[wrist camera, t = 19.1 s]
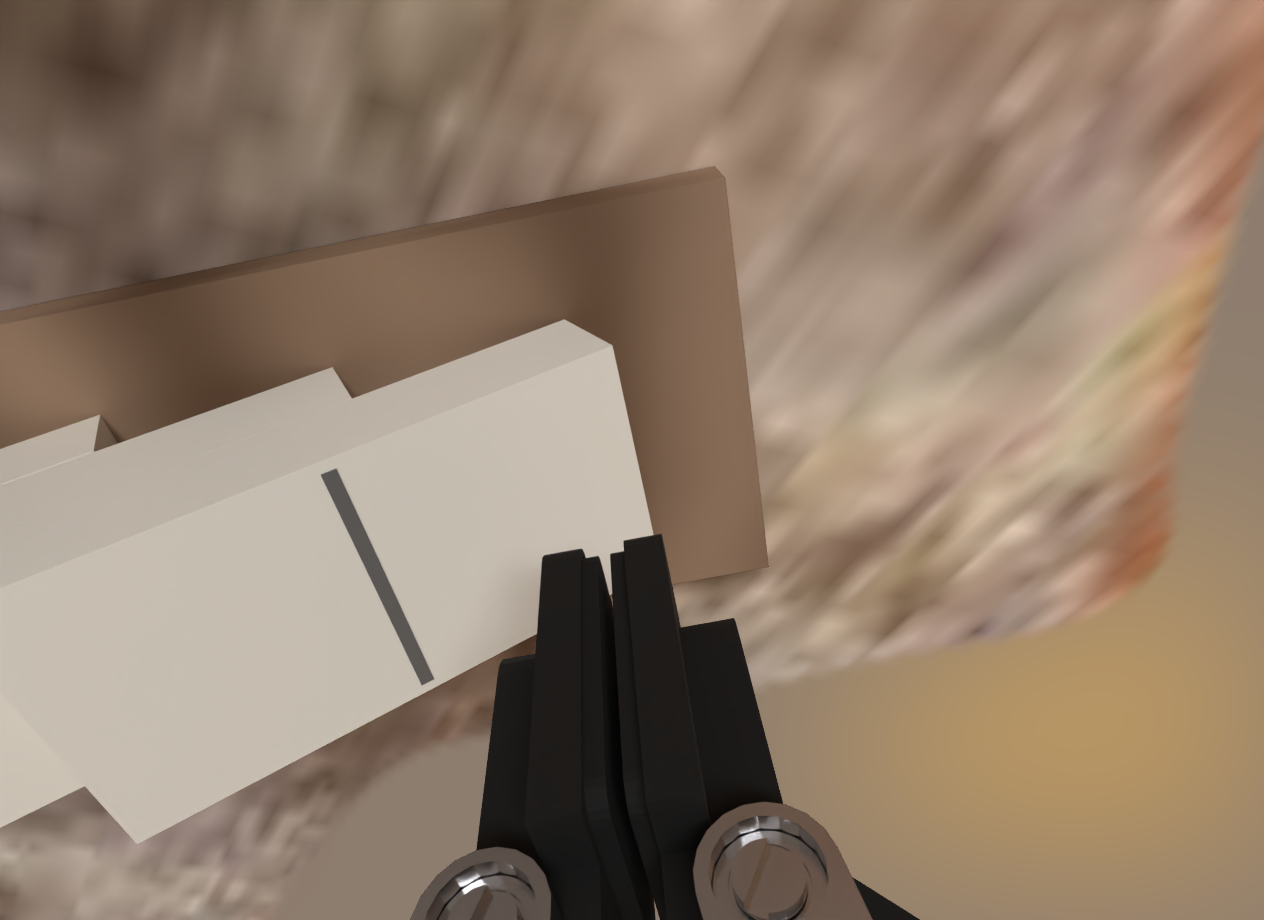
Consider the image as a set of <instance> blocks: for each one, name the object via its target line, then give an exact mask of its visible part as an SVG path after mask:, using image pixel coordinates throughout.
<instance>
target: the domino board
mask: <svg viewBox="0 0 1264 920" xmlns="http://www.w3.org/2000/svg"><path fill="white" fill-rule="evenodd" d="M564 319H565V320H567V321H568V322H570V323H572V324H574V325H576V326H578V327H579V328H581V329H583V330H585V331H587V332H589V333H591V334H592V335H594V336H596V337H598V338H600V339H602V340H603V341H605V342H607V343H609V344H611V345H612V346H613V350H614V355H615V359H616V364H617V369H618V373H619V378H620V382H621V387H622V392H623V396H624V401H625V405H626V410H627V415H628V419H629V424H630V428H631V433H632V438H633V442H634V447H635V451H636V456H637V461H638V465H639V470H640V474H641V479H642V484H643V488H644V493H645V497H646V502H647V507H648V511H649V516H650V520H651V525H652V530H653V534H654V535H657V534H662V537H663V542H664V547H665V552H666V557H667V562H668V567H669V572H670V577H671V582H672V584H678V583H683V582H689V581H694V580H700V579H705V578H711V577H716V576H722V575H727V574H733V573H738V572H744V571H749V570H755V569H760V568H766V567H769V565H768V556H767V547H766V538H765V529H764V520H763V511H762V503H761V494H760V485H759V476H758V467H757V458H756V449H755V440H754V431H753V422H752V413H751V404H750V395H749V386H748V377H747V368H746V359H745V350H744V341H743V332H742V323H741V314H740V306H739V297H738V288H737V279H736V270H735V261H734V252H733V243H732V234H731V225H730V216H729V207H728V198H727V189H726V180H725V177H724V176H723V175H722V174H721V173H720V171H719V170H718V169H717V168H716V167H715V166H713V167H708V168H703V169H698V170H694V171H689V172H684V173H679V174H674V175H669V176H664V177H659V178H654V179H649V180H644V181H640V182H635V183H630V184H625V185H620V186H615V187H610V188H605V189H600V190H595V191H590V192H585V193H581V194H576V195H571V196H566V197H561V198H556V199H551V200H546V201H541V202H536V203H531V204H527V205H522V206H517V207H512V208H507V209H502V210H497V211H492V212H487V213H482V214H477V215H473V216H468V217H463V218H458V219H453V220H448V221H443V222H438V223H433V224H428V225H423V226H418V227H414V228H409V229H404V230H399V231H394V232H389V233H384V234H379V235H374V236H369V237H364V238H360V239H355V240H350V241H345V242H340V243H335V244H330V245H325V246H320V247H315V248H310V249H306V250H301V251H296V252H291V253H286V254H281V255H276V256H271V257H266V258H261V259H256V260H251V261H247V262H242V263H237V264H232V265H227V266H222V267H217V268H212V269H207V270H202V271H197V272H193V273H188V274H183V275H178V276H173V277H168V278H163V279H158V280H153V281H148V282H143V283H138V284H134V285H129V286H124V287H119V288H114V289H109V290H104V291H99V292H94V293H89V294H84V295H80V296H75V297H70V298H65V299H60V300H55V301H50V302H45V303H40V304H35V305H30V306H26V307H21V308H16V309H11V310H6V311H1V312H0V449H2V448H5V447H8V446H10V445H13V444H16V443H19V442H22V441H25V440H28V439H31V438H34V437H37V436H39V435H42V434H45V433H48V432H51V431H54V430H57V429H60V428H63V427H66V426H68V425H71V424H74V423H77V422H80V421H83V420H86V419H89V418H92V417H95V416H97V415H101V417H102V419H103V420H104V422H105V423H106V425H107V426H108V428H109V430H110V431H111V433H112V434H113V436H114V438H115V439H116V441H117V442H118V443H121V442H124V441H127V440H129V439H132V438H135V437H138V436H141V435H143V434H146V433H149V432H152V431H155V430H157V429H160V428H163V427H166V426H169V425H171V424H174V423H177V422H180V421H183V420H185V419H188V418H191V417H194V416H197V415H199V414H202V413H205V412H208V411H211V410H213V409H216V408H219V407H222V406H225V405H227V404H230V403H233V402H236V401H239V400H241V399H244V398H247V397H250V396H253V395H256V394H258V393H261V392H264V391H267V390H270V389H272V388H275V387H278V386H281V385H284V384H286V383H289V382H292V381H295V380H298V379H300V378H303V377H306V376H309V375H312V374H314V373H317V372H320V371H323V370H326V369H328V368H331V367H333V369H334V370H335V372H336V374H337V375H338V377H339V379H340V380H341V382H342V383H343V385H344V387H345V388H346V390H347V391H348V393H349V395H350V396H351V398H352V399H353V398H355V397H358V396H361V395H363V394H366V393H369V392H371V391H374V390H377V389H379V388H382V387H385V386H387V385H390V384H393V383H395V382H398V381H401V380H403V379H406V378H409V377H411V376H414V375H417V374H419V373H422V372H425V371H427V370H430V369H433V368H436V367H438V366H441V365H444V364H446V363H449V362H452V361H454V360H457V359H460V358H462V357H465V356H468V355H470V354H473V353H476V352H478V351H481V350H484V349H486V348H489V347H492V346H494V345H497V344H500V343H502V342H505V341H508V340H510V339H513V338H516V337H518V336H521V335H524V334H526V333H529V332H532V331H534V330H537V329H540V328H543V327H545V326H548V325H551V324H553V323H556V322H559V321H561V320H564ZM610 596H612V594H611V595H610Z"/></svg>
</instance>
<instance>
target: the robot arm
mask: <svg viewBox="0 0 1264 920" xmlns="http://www.w3.org/2000/svg"><path fill="white" fill-rule="evenodd" d="M623 544H624V551H622V552H617V553H611V554H610V564H611V581H612V598H613V606H612V602H611V598H610V595H609V591H608V587H607V583H606V579H605V575H604V572H603V568H602V564H601V560H600V558H599V556H595V557H589V558H586V557H585V553H584V551H583V549H575V550H570V551H564V552H559V553H554V554H548V555H544V556H543V557H542V566H541V580H540V595H539V610H538V625H537V640H536V654H532V655H526V656H520V657H515V658H509V659H504V660H502V662H501V664H500V667H499V672H498V678H497V686H496V695H495V703H494V711H493V719H492V727H491V735H490V744H489V752H488V760H487V768H486V776H485V785H484V793H483V801H482V809H481V817H480V826H479V834H478V842H477V850H476V851H474V852H472V853H470V854H468V855H466V856H464V857H461V858H459V859H457V860H455V861H454V862H453V863H452V864H450V865H449V866H448V867H447V868H446V869H444V870H443V871H442V872H441V873H440V874H438V875H437V876H436V877H435V879H434V880H433V881H432V882H431V884H430V885H429V886H428V888H427V889H426V890H425V891H424V893H423V894H422V895H421V897H420V899H419V901H418V904H417V906H416V908H415V910H414V912H413V914H412V917H411V919H410V920H655V908H654V901H655V904H656V908H657V910H658V914H659V917H660V920H920V919H918V918H916V917H915V916H913V915H912V914H910V913H908V912H907V911H905V910H904V909H902V908H900V907H899V906H897V905H896V904H894V903H892V902H891V901H889V900H888V899H886V898H884V897H883V896H881V895H880V894H878V893H877V892H875V891H874V890H872V889H870V888H869V887H867V886H866V885H864V884H862V883H861V882H859V881H858V880H856V879H854V878H853V877H852V876H851V874H850V872H849V870H848V868H847V866H846V864H845V862H844V860H843V858H842V855H841V853H840V851H839V849H838V847H837V846H836V844H835V843H834V841H833V840H832V838H831V837H830V835H829V834H828V832H827V831H826V829H825V828H824V827H823V826H821V825H820V824H819V823H818V822H817V821H815V820H814V819H813V818H812V817H810V816H809V815H808V814H807V813H805V812H802V811H800V810H798V809H795V808H793V807H791V806H788V805H786V804H783V802H782V797H781V794H780V790H779V786H778V782H777V779H776V774H775V771H774V767H773V763H772V760H771V755H770V752H769V748H768V744H767V740H766V737H765V732H764V729H763V725H762V721H761V717H760V713H759V709H758V706H757V702H756V698H755V694H754V690H753V686H752V683H751V679H750V675H749V671H748V667H747V663H746V660H745V656H744V652H743V648H742V644H741V640H740V637H739V633H738V629H737V626H736V622H735V620H734V618H732V619H727V620H721V621H715V622H710V623H704V624H699V625H693V626H688V627H682V628H681V627H680V622H679V617H678V612H677V607H676V602H675V597H674V592H673V587H672V582H671V577H670V572H669V567H668V562H667V557H666V552H665V547H664V542H663V537H662V534H657V535H651V536H646V537H640V538H635V539H629V540H624V542H623Z"/></svg>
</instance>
